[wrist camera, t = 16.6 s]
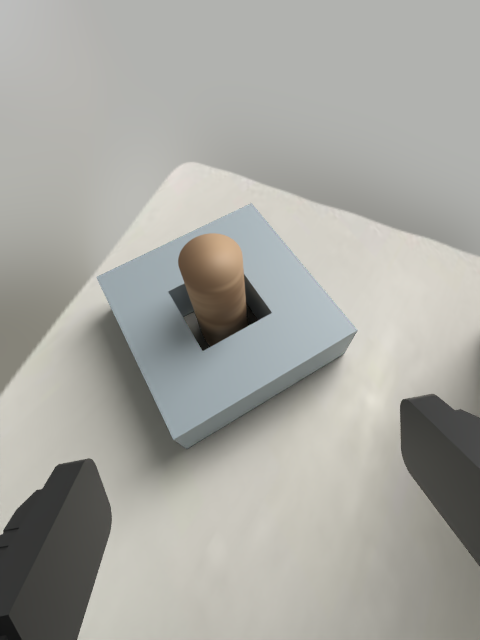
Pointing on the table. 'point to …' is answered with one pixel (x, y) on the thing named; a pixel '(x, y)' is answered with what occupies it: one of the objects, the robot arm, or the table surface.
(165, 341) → the socket block
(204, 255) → the peg
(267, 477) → the table surface
